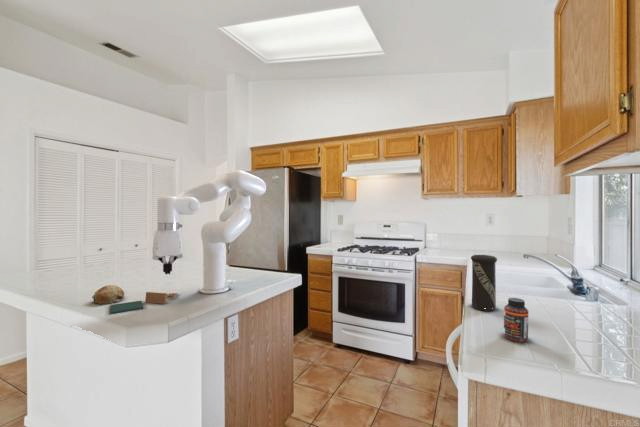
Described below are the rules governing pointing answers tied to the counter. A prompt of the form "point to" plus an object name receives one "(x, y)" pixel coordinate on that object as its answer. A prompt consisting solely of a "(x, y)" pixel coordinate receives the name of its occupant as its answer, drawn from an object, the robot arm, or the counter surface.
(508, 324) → the supplement bottle
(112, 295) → the bread roll
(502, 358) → the counter surface
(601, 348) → the counter surface
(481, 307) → the container
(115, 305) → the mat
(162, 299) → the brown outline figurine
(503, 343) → the counter surface
